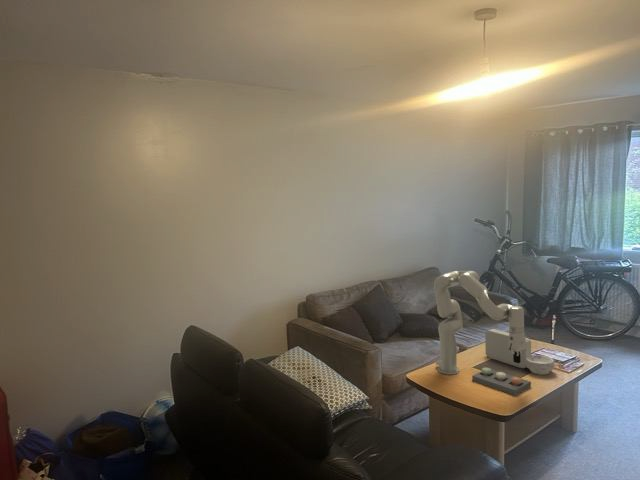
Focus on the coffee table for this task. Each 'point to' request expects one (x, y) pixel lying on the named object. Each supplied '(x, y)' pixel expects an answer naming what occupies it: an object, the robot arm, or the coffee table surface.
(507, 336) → the rounded white slab
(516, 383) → the terracotta button
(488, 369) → the sage button
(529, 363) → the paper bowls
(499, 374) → the cream button
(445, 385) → the coffee table surface
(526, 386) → the console
